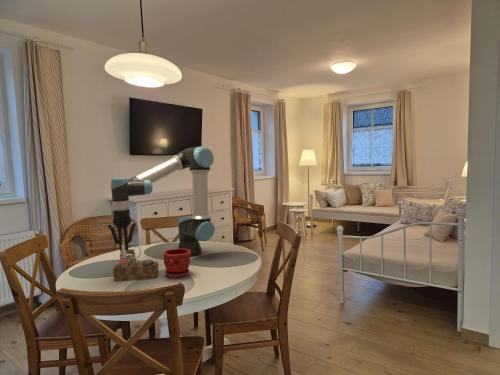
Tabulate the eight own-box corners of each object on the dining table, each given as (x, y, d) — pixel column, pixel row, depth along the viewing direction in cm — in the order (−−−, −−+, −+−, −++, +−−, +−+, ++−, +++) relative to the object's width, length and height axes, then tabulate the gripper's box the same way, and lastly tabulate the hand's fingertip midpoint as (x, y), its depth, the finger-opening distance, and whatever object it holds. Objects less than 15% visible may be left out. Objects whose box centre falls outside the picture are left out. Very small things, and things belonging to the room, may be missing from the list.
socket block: (158, 272, 163) (158, 261, 163) (157, 277, 157) (156, 265, 156) (117, 276, 160) (116, 264, 160) (114, 281, 153) (113, 269, 153)
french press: (118, 267, 174) (115, 222, 172) (140, 264, 178) (138, 220, 176) (118, 273, 165) (115, 225, 163) (142, 269, 169) (139, 223, 167)
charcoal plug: (154, 272, 162) (153, 259, 162) (153, 276, 157) (152, 262, 156) (143, 273, 161) (143, 259, 161) (142, 277, 156) (141, 263, 156)
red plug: (131, 272, 160) (130, 258, 160) (129, 276, 155) (128, 261, 155) (120, 273, 159) (120, 259, 159) (118, 276, 154) (117, 262, 154)
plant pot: (185, 279, 153) (184, 255, 152) (160, 278, 155) (158, 254, 154) (195, 270, 165) (194, 247, 164) (171, 269, 168) (170, 247, 167)
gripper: (104, 211, 150) (108, 260, 152) (133, 209, 152) (137, 258, 154) (109, 209, 157) (112, 255, 159) (136, 207, 160) (139, 253, 161)
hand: (124, 256), depth 157 cm, fingers closed
